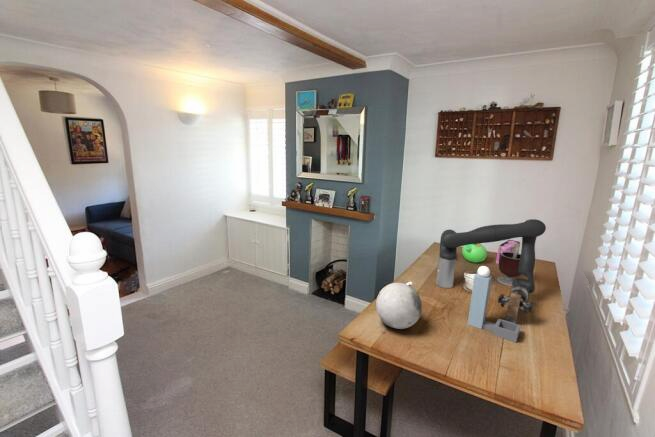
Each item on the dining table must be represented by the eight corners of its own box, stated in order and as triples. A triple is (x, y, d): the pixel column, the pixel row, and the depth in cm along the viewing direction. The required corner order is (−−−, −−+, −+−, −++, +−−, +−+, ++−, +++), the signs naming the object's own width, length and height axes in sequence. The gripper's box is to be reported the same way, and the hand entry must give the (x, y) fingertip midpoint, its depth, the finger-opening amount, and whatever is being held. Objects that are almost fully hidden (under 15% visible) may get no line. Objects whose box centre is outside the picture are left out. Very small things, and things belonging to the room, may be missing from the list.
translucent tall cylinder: (505, 322, 149) (510, 295, 146) (506, 319, 152) (511, 292, 149) (514, 325, 147) (519, 298, 144) (516, 322, 150) (521, 295, 147)
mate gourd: (516, 288, 186) (522, 256, 181) (492, 280, 196) (497, 250, 191) (526, 281, 196) (531, 251, 191) (502, 274, 206) (506, 245, 201)
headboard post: (466, 325, 146) (474, 267, 140) (471, 317, 153) (479, 262, 146) (515, 342, 134) (527, 280, 128) (519, 333, 141) (530, 273, 134)
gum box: (506, 267, 219) (509, 248, 216) (494, 263, 225) (497, 245, 222) (517, 259, 235) (520, 241, 232) (506, 256, 241) (509, 239, 238)
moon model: (391, 342, 132) (394, 298, 127) (366, 318, 150) (369, 279, 145) (429, 332, 140) (433, 290, 135) (401, 310, 158) (404, 273, 153)
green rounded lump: (489, 266, 220) (493, 246, 217) (465, 265, 220) (468, 245, 217) (478, 257, 237) (480, 238, 234) (455, 256, 238) (458, 237, 234)
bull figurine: (414, 295, 174) (415, 281, 172) (401, 304, 164) (403, 289, 163) (407, 292, 177) (408, 279, 175) (394, 301, 167) (395, 286, 166)
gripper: (503, 285, 162) (497, 296, 150) (536, 293, 154) (532, 306, 141) (501, 298, 164) (494, 310, 151) (534, 307, 155) (529, 321, 143)
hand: (512, 308), depth 146 cm, fingers open, 8 cm apart
